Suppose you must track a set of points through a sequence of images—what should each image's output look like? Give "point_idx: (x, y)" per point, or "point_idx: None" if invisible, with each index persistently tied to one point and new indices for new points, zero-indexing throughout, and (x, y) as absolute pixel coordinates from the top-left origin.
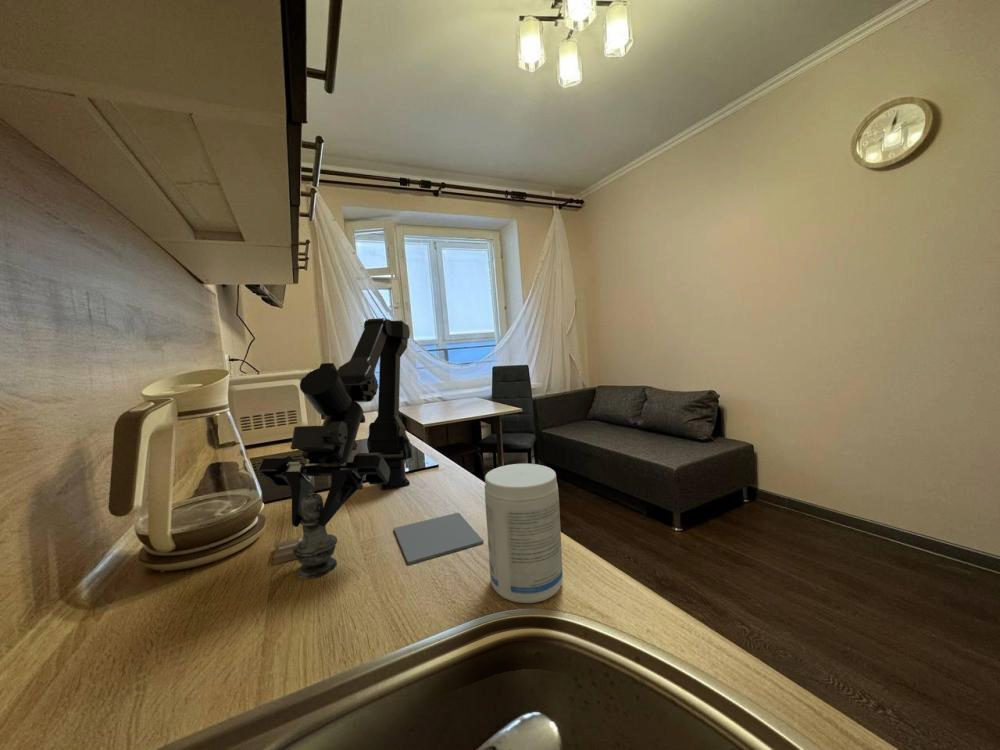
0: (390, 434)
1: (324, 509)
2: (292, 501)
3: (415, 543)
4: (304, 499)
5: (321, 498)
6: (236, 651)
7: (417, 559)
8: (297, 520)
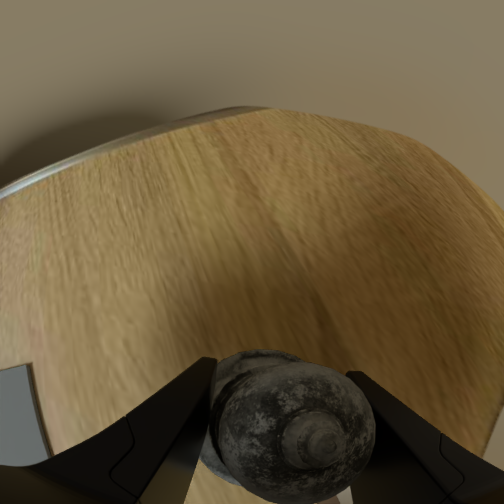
0: None
1: (192, 391)
2: (433, 428)
3: (18, 446)
4: (342, 385)
5: (220, 437)
6: (289, 182)
7: (10, 369)
8: None
